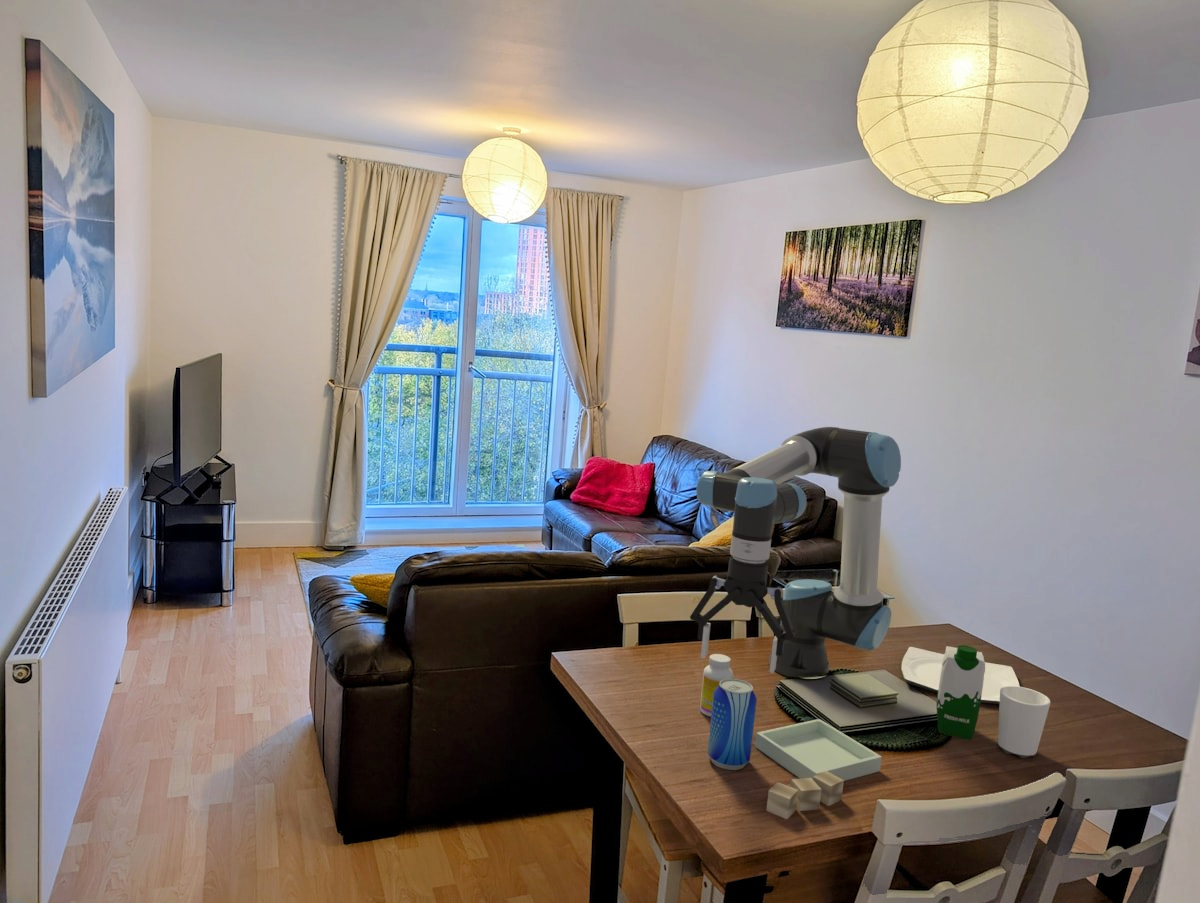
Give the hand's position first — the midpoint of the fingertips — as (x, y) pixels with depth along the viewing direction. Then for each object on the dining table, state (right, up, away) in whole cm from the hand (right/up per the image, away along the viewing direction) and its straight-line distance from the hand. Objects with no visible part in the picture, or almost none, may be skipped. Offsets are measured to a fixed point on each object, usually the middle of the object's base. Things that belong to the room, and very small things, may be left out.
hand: (737, 663), depth 170 cm
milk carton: (+53, -21, +25) cm, 62 cm away
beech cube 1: (+15, -23, -8) cm, 29 cm away
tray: (+17, -21, +7) cm, 28 cm away
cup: (+63, -23, +18) cm, 69 cm away
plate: (+66, -18, +55) cm, 87 cm away
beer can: (-1, -20, +3) cm, 21 cm away
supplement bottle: (-1, -17, +25) cm, 30 cm away
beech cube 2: (+10, -23, -11) cm, 28 cm away
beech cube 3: (+6, -23, -13) cm, 28 cm away
